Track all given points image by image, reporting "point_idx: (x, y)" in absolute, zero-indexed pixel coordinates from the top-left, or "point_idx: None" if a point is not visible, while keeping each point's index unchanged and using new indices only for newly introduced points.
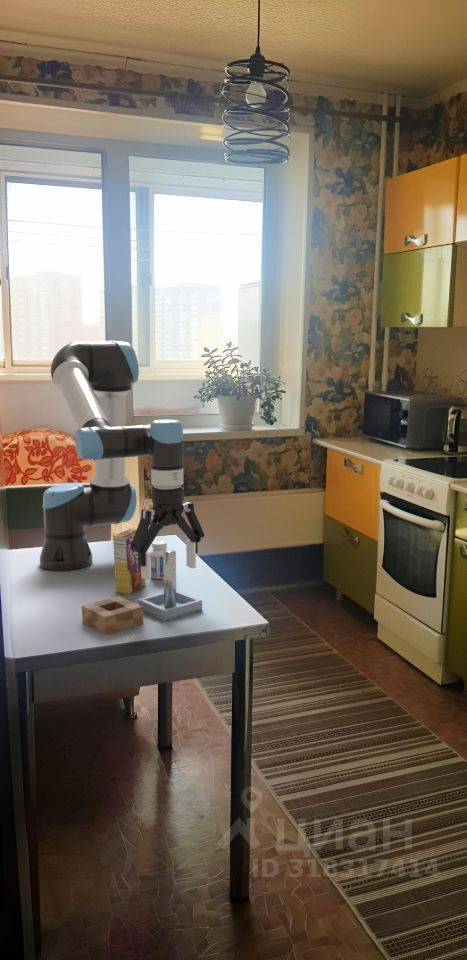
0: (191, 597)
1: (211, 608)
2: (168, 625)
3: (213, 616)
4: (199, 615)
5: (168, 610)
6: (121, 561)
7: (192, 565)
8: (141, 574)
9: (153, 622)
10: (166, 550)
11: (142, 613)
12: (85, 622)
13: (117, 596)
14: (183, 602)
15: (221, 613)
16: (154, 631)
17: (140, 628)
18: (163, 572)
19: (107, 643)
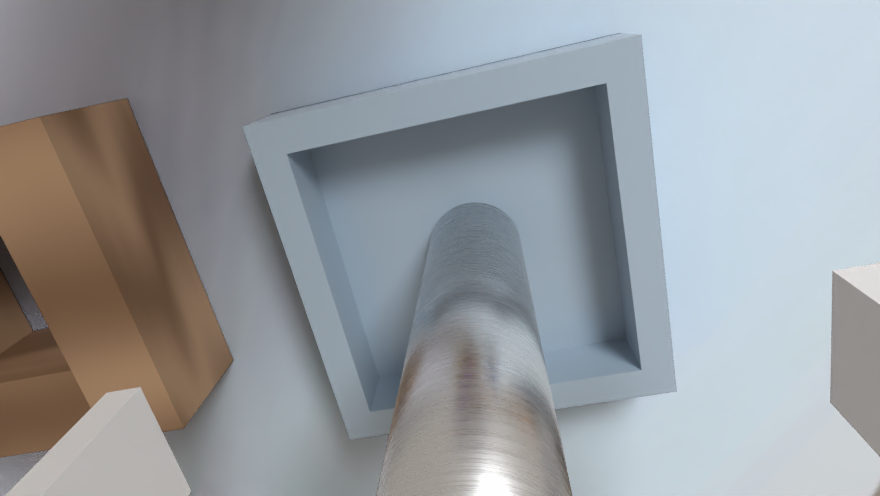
0: (647, 302)
1: (727, 350)
2: (357, 448)
3: (649, 460)
4: (588, 411)
5: (375, 435)
6: None
7: (853, 413)
8: (84, 427)
9: (294, 374)
10: None
11: (202, 399)
12: None
13: (28, 121)
14: (609, 204)
15: (720, 446)
16: (260, 478)
17: (200, 413)
18: (398, 393)
19: (7, 491)
